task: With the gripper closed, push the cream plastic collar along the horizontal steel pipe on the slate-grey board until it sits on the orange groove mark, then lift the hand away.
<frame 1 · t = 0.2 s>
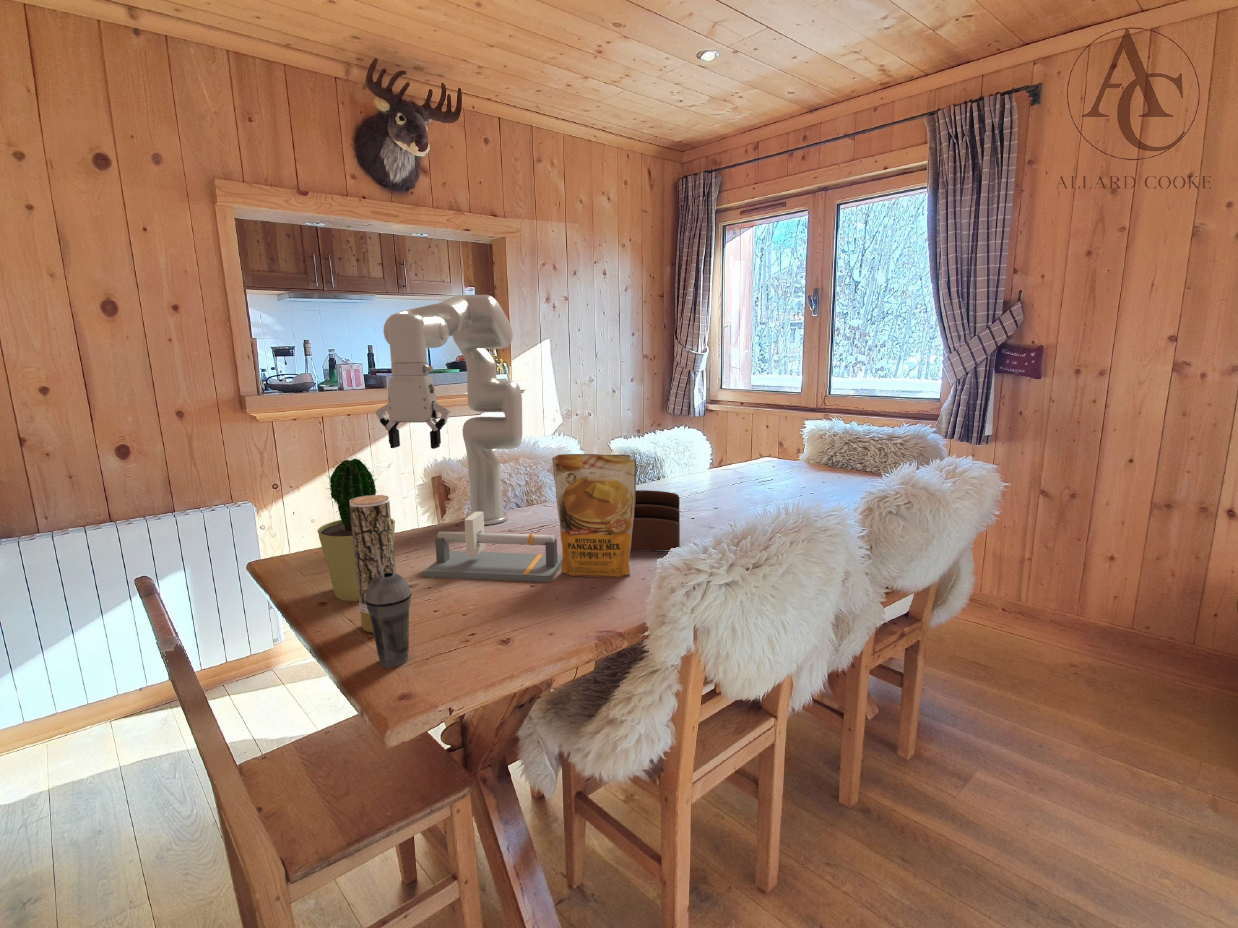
hand: (415, 447, 138), 30 cm above the table, tool pointing down, fingers open, 9 cm apart
collar: (475, 533, 145), point 8 cm above the table, slide at 0.0 cm
letter holder: (642, 546, 162), on the table
pancake mix bag: (595, 573, 143), on the table
pipe rig: (497, 568, 146), on the table
beverage cup: (394, 661, 104), on the table
potted cactus: (363, 591, 134), on the table
bark wrapped tube: (381, 627, 116), on the table
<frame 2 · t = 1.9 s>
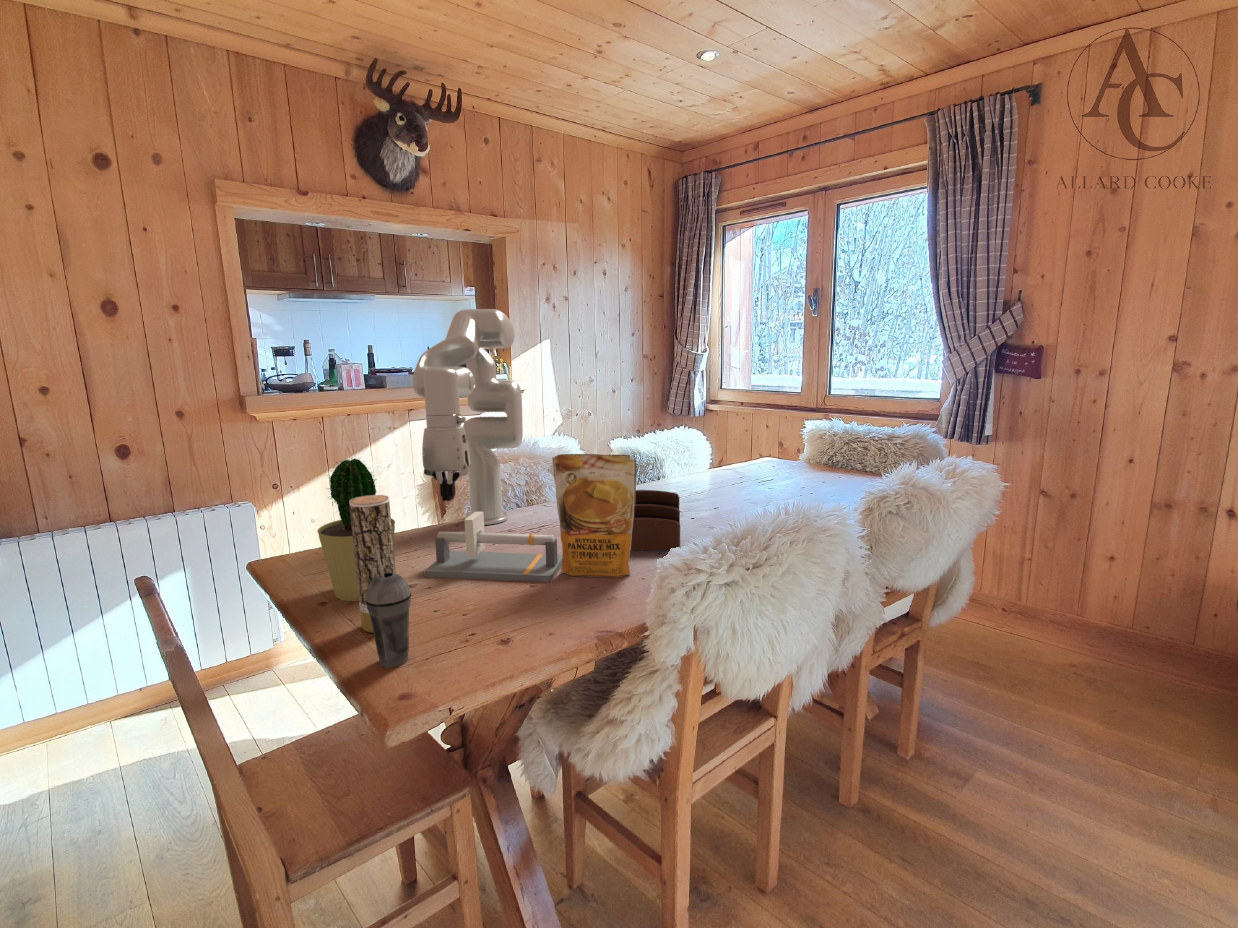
hand: (448, 499, 144), 17 cm above the table, tool pointing down, fingers closed
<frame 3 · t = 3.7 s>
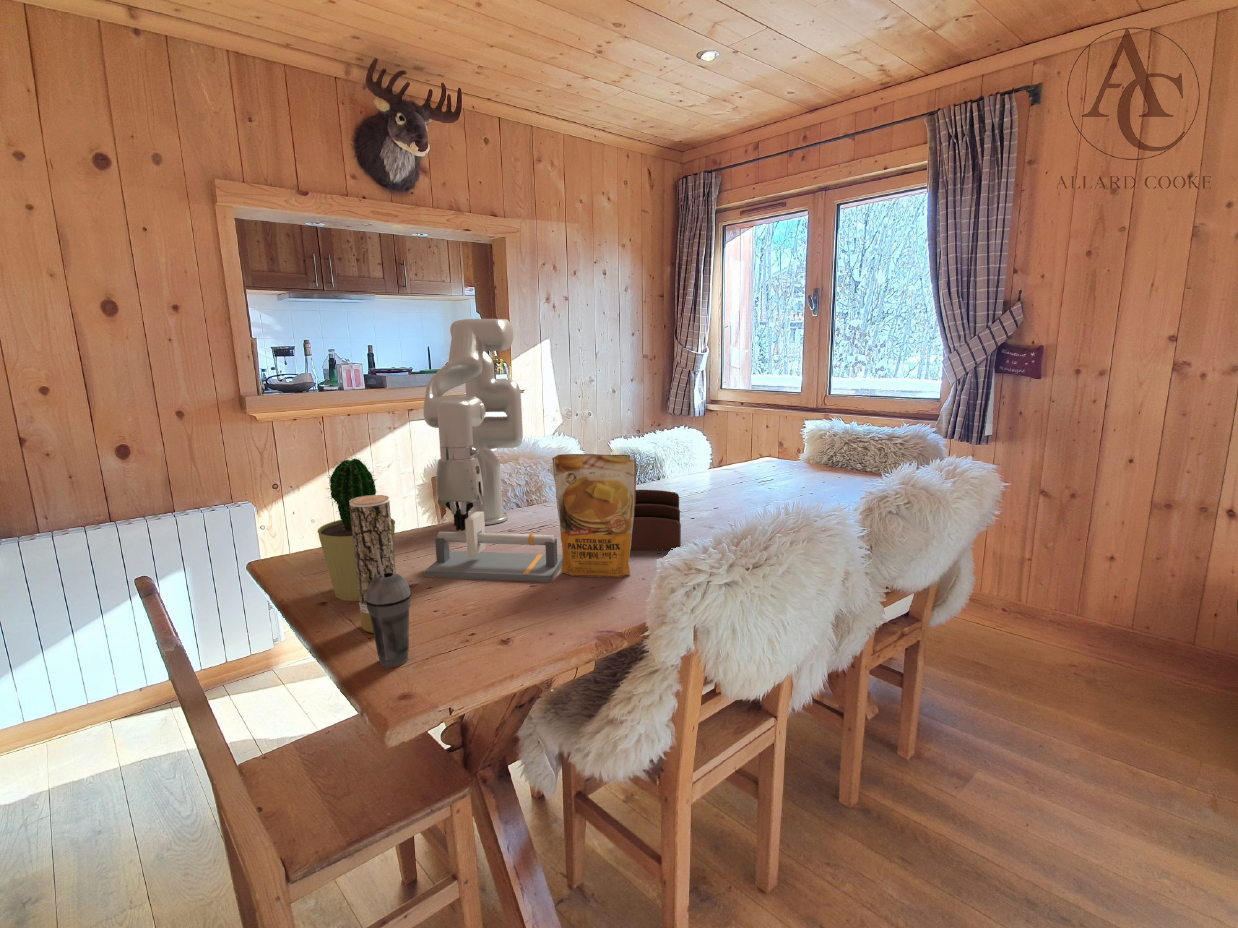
hand: (461, 528, 145), 10 cm above the table, tool pointing down, fingers closed
collar: (475, 533, 145), point 8 cm above the table, slide at 0.1 cm, touching gripper
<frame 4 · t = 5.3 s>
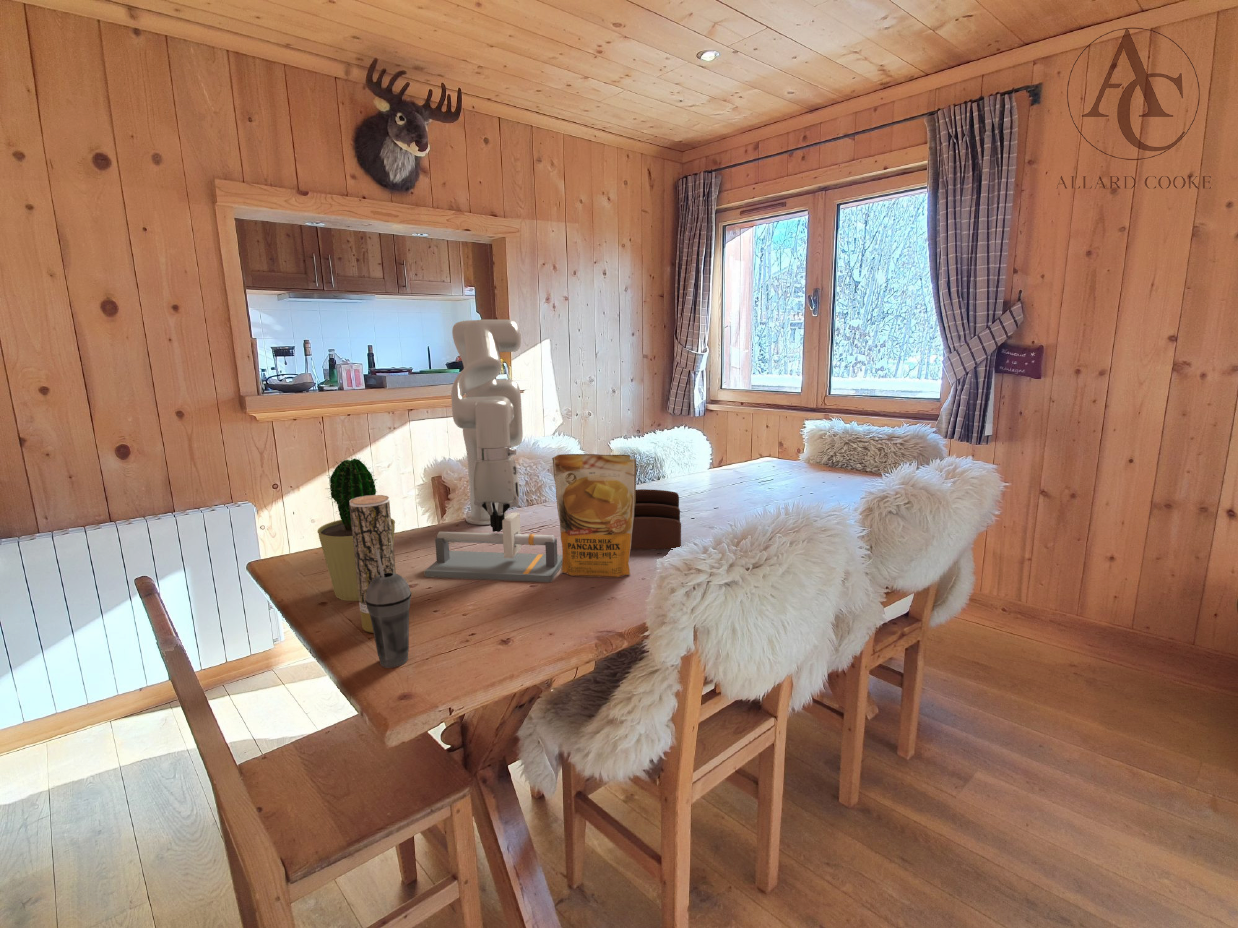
hand: (498, 529, 144), 10 cm above the table, tool pointing down, fingers closed
collar: (512, 534, 144), point 8 cm above the table, slide at 9.1 cm, touching gripper
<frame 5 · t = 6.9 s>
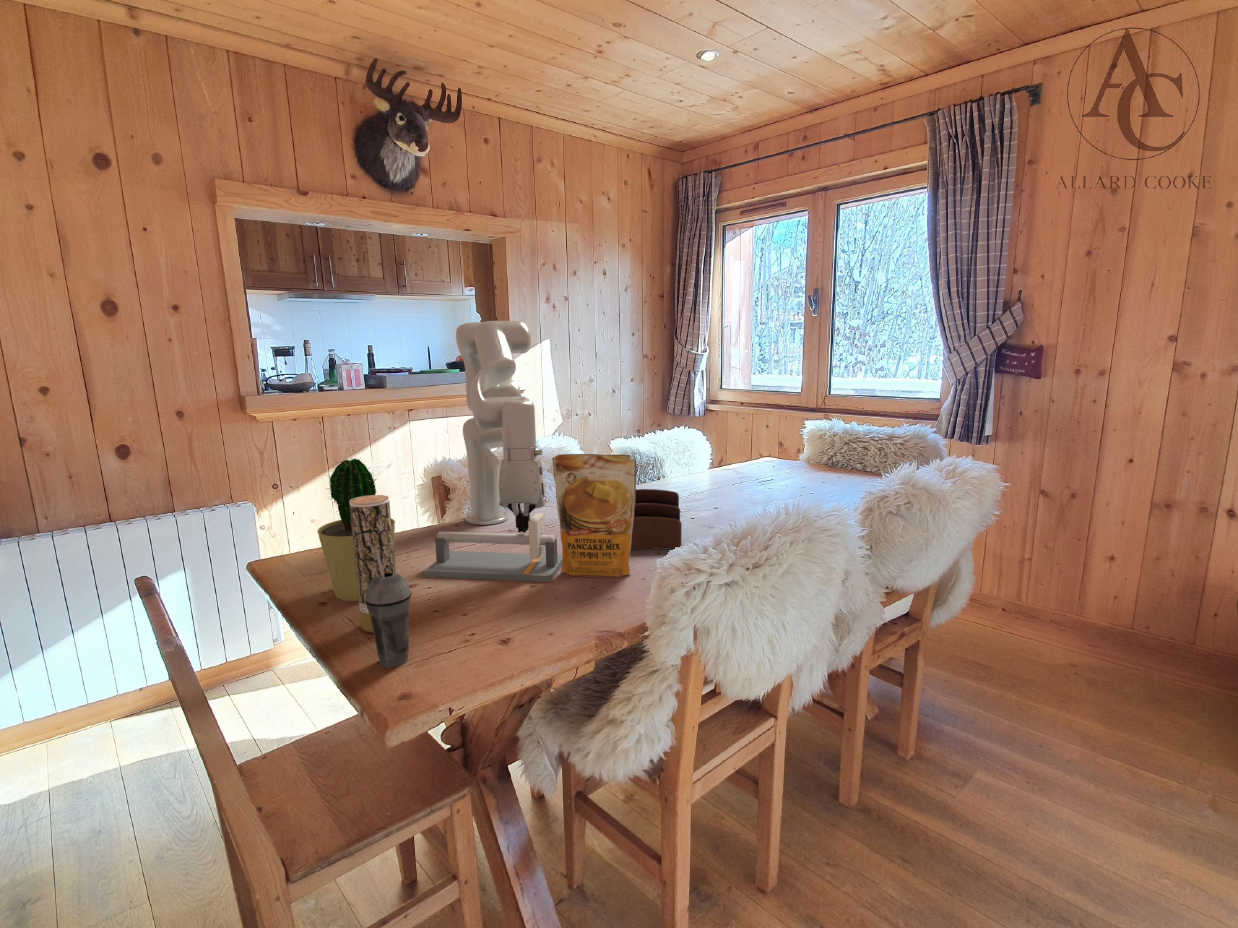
hand: (523, 530, 143), 10 cm above the table, tool pointing down, fingers closed
collar: (537, 535, 143), point 8 cm above the table, slide at 15.3 cm, touching gripper
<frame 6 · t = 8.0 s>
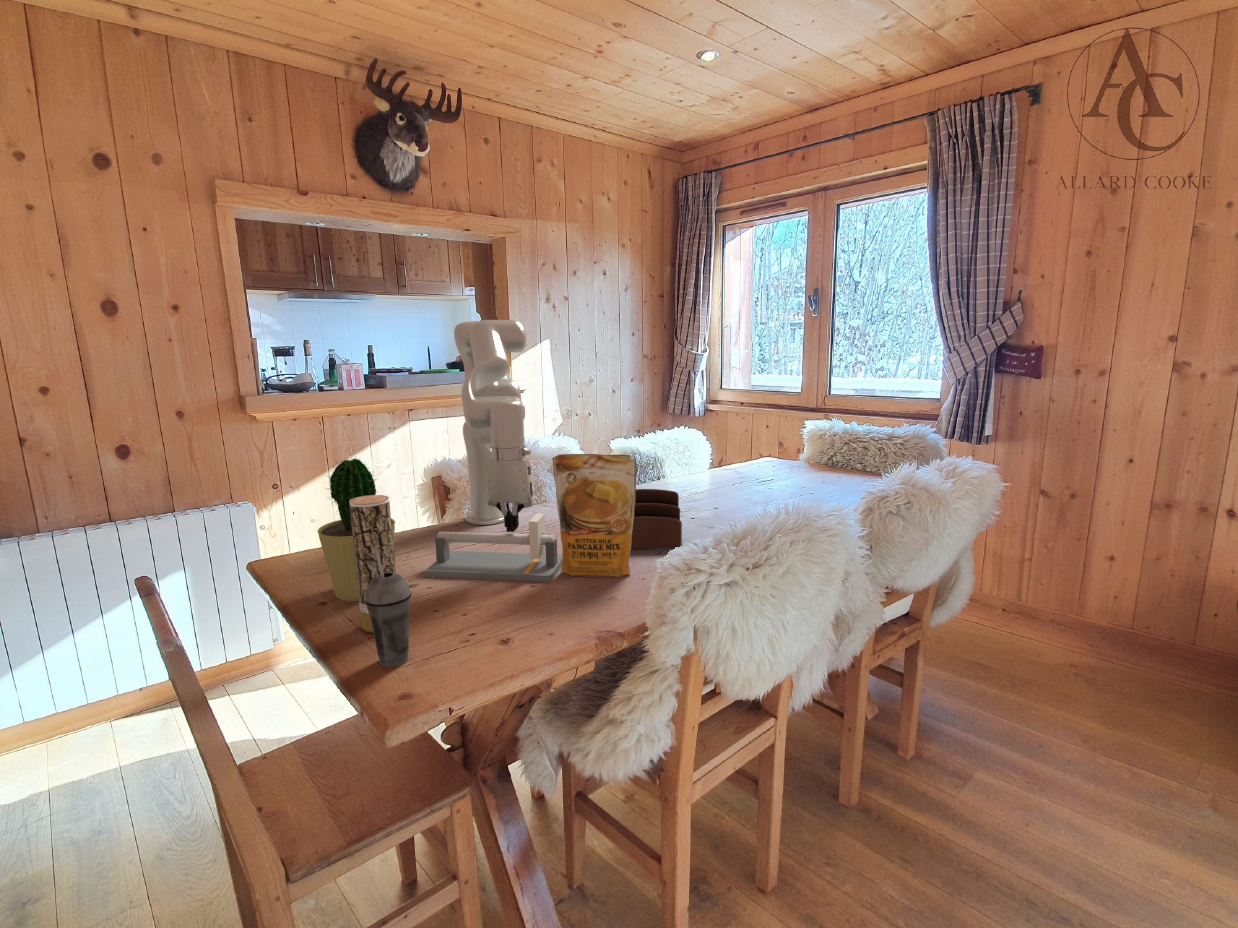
hand: (511, 530, 144), 10 cm above the table, tool pointing down, fingers closed
collar: (537, 535, 143), point 8 cm above the table, slide at 15.4 cm
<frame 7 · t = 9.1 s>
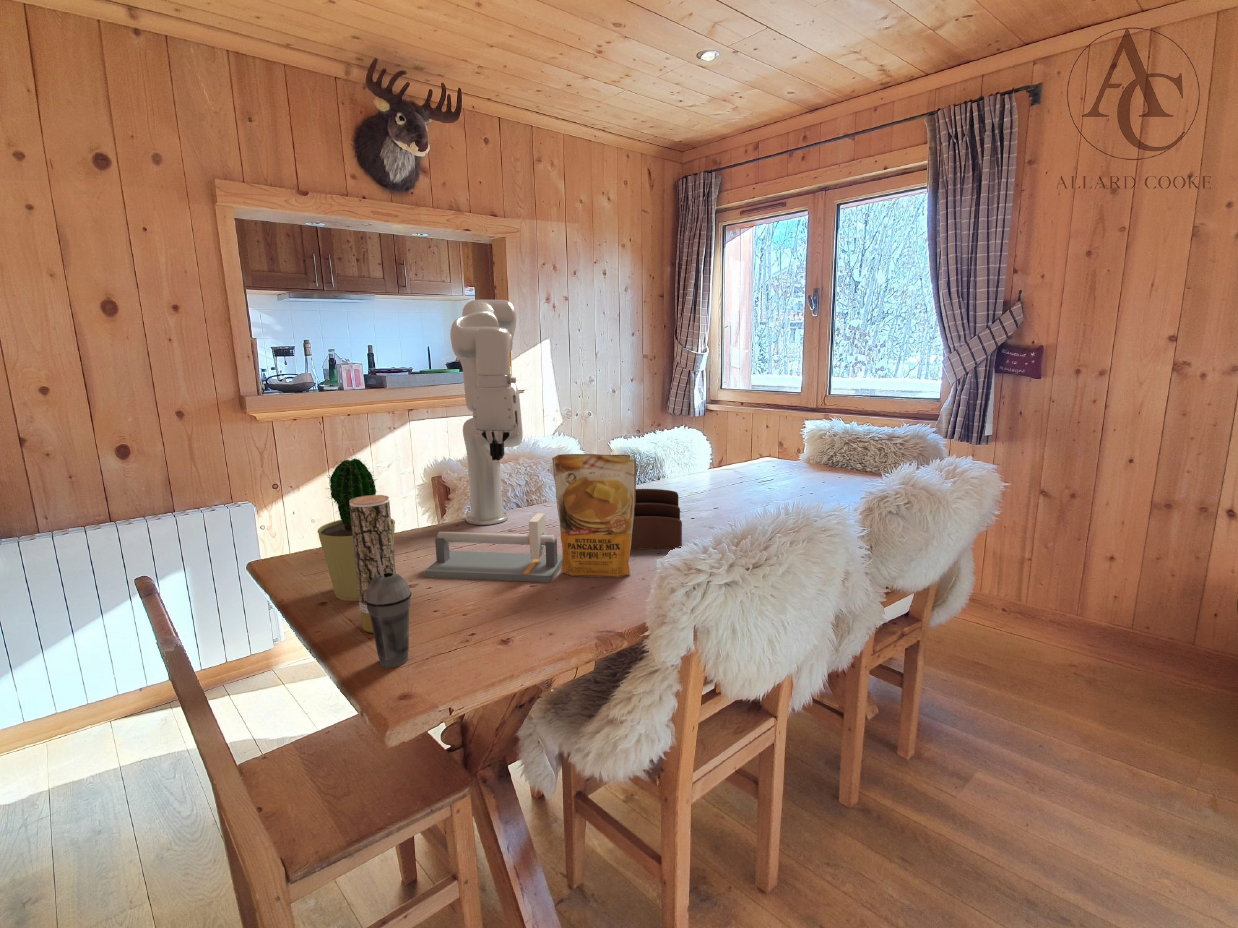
hand: (497, 459, 146), 26 cm above the table, tool pointing down, fingers closed
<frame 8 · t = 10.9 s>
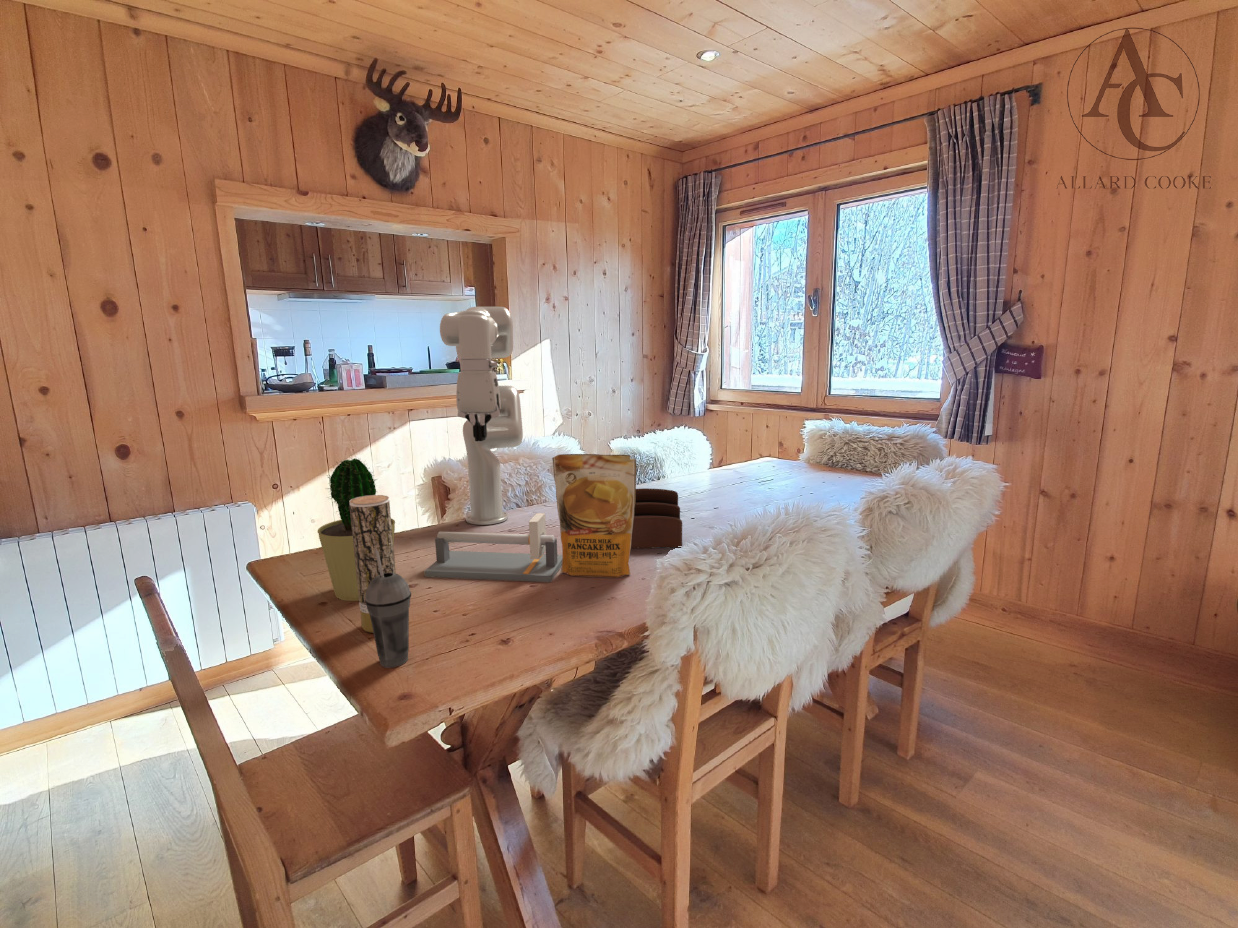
hand: (480, 440, 153), 29 cm above the table, tool pointing down, fingers closed
at the end: collar slide at 15.4 cm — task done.
